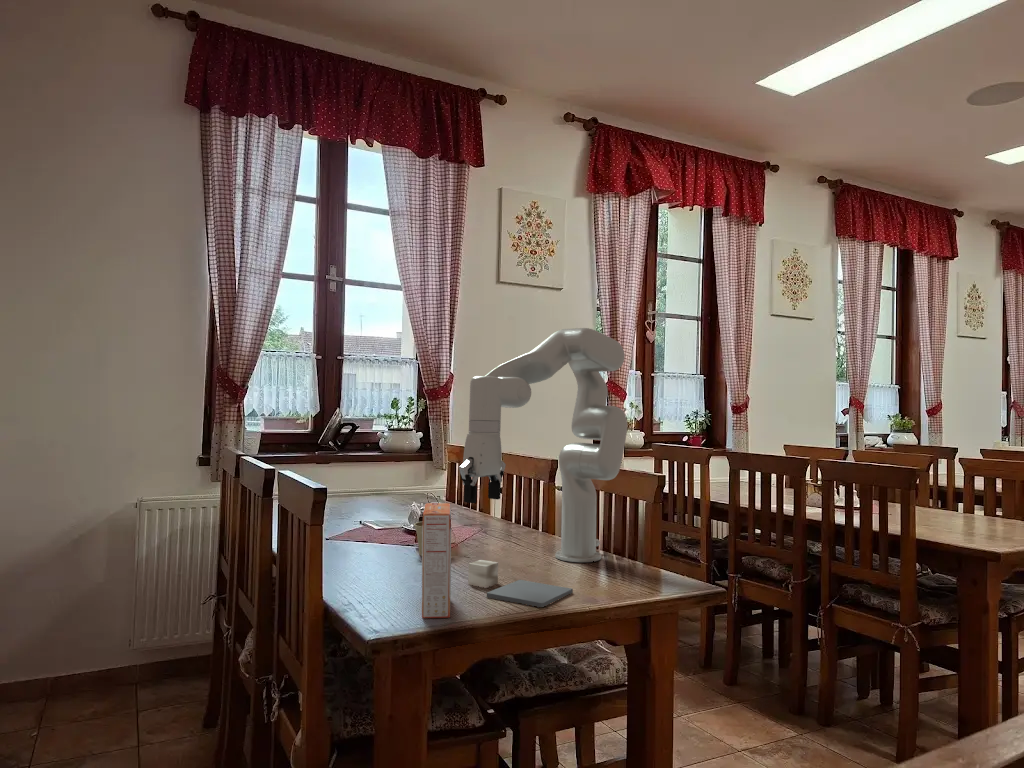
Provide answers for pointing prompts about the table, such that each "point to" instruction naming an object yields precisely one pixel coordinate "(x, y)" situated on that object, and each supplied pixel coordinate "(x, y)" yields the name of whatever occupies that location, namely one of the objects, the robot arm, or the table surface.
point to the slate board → (529, 593)
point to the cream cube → (483, 573)
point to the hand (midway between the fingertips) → (482, 500)
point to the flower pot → (419, 535)
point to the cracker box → (436, 560)
